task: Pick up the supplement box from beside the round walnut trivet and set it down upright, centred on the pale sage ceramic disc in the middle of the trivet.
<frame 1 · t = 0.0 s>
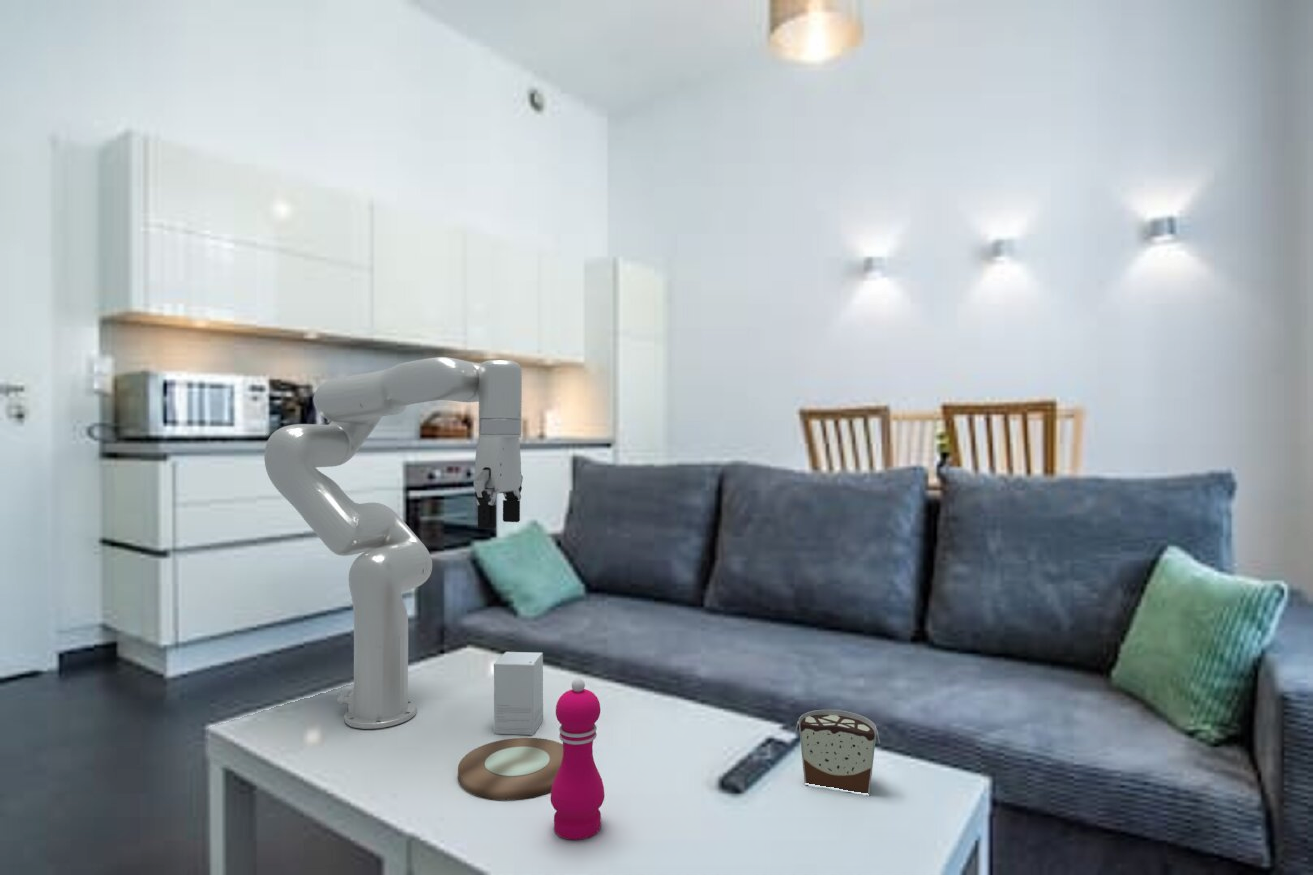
hand: (499, 524, 128), 37 cm above the table, tool pointing down, fingers open, 9 cm apart
food container: (838, 782, 109), on the table
trivet: (517, 771, 112), on the table
pepper mill: (577, 828, 96), on the table
supplement box: (519, 728, 129), on the table
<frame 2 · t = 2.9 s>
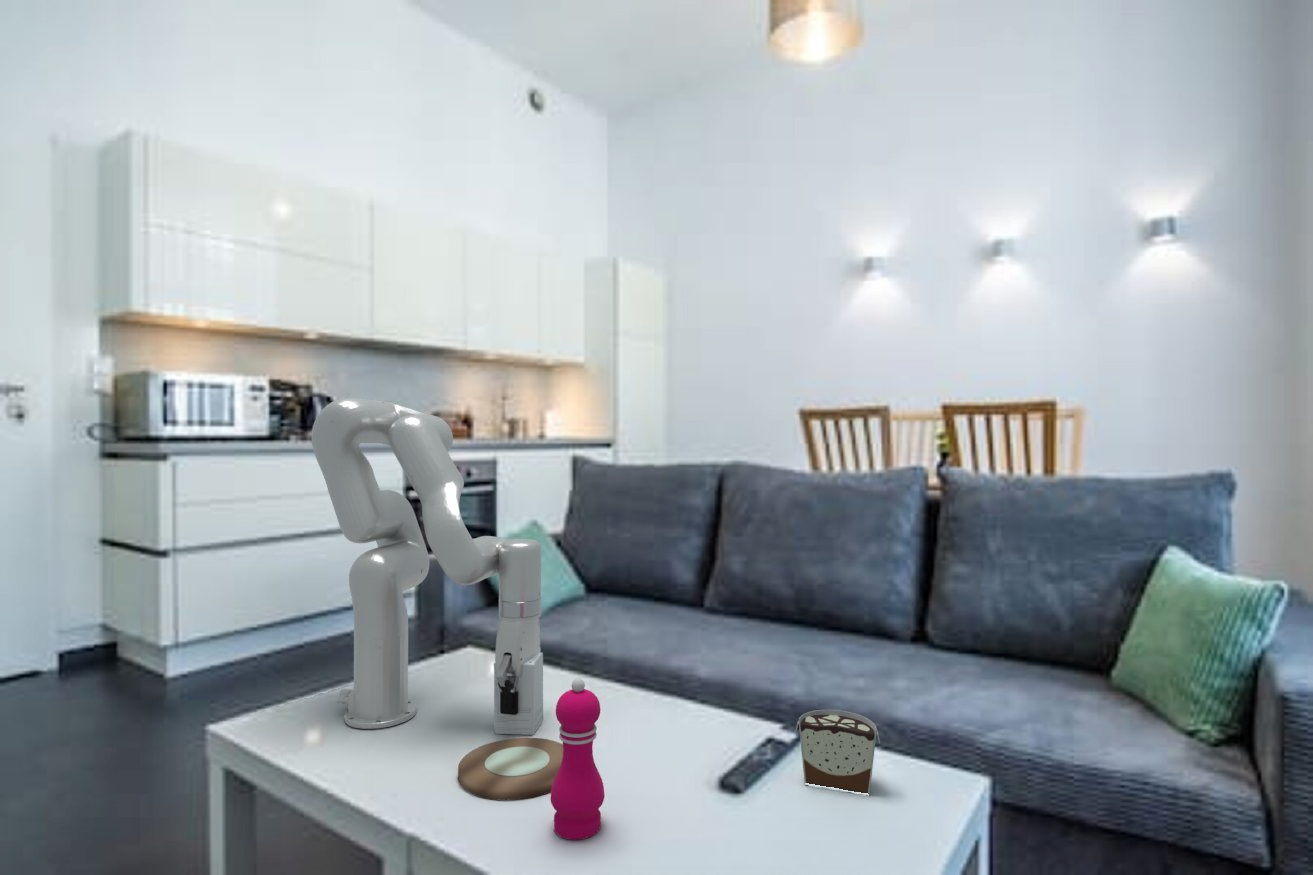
hand: (519, 704, 129), 4 cm above the table, tool pointing down, fingers closed on supplement box, 8 cm apart
supplement box: (519, 727, 129), on the table, touching gripper
everything else where it was.
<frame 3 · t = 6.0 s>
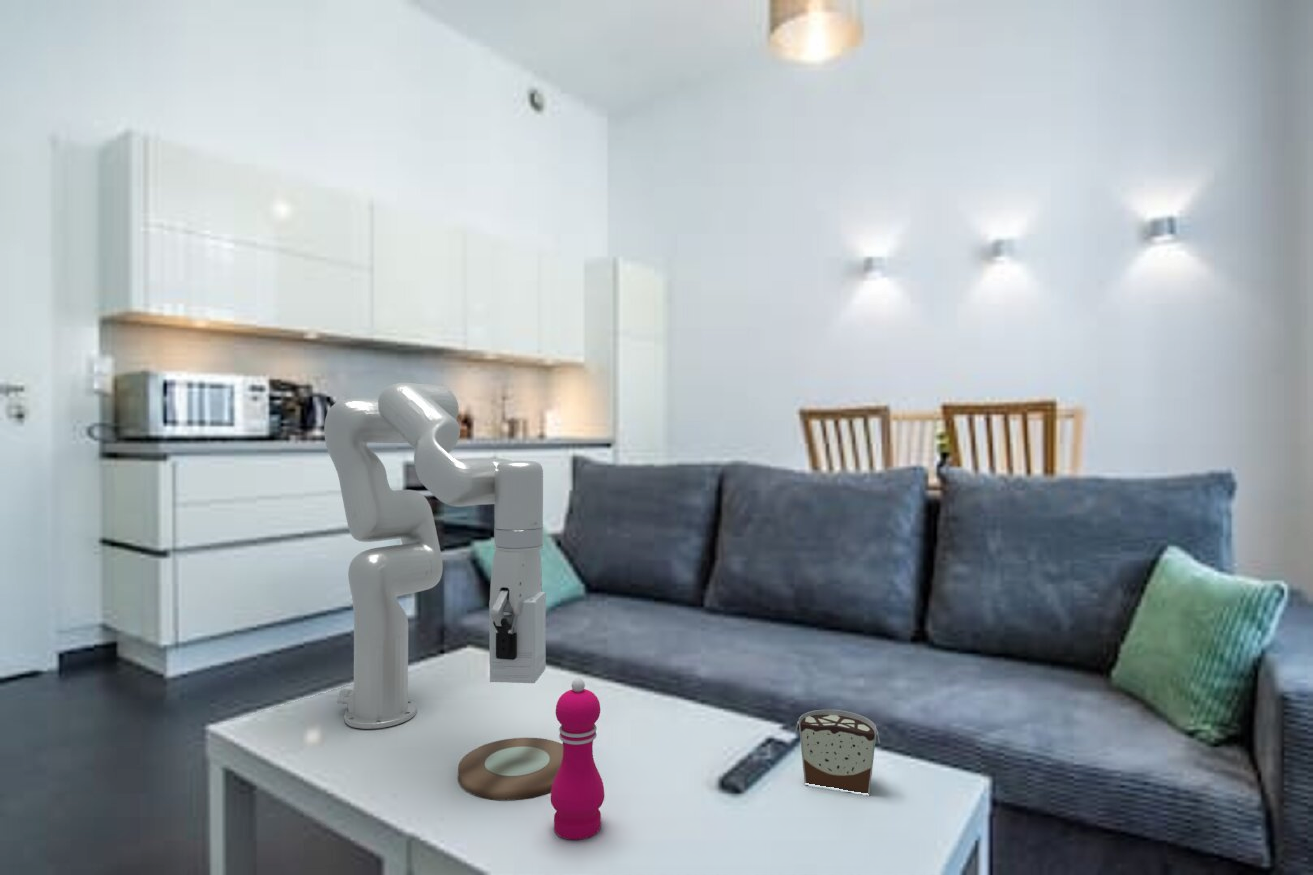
hand: (518, 649, 112), 19 cm above the table, tool pointing down, fingers closed on supplement box, 8 cm apart
supplement box: (518, 676, 112), point 15 cm above the table, touching gripper
everything else where it was.
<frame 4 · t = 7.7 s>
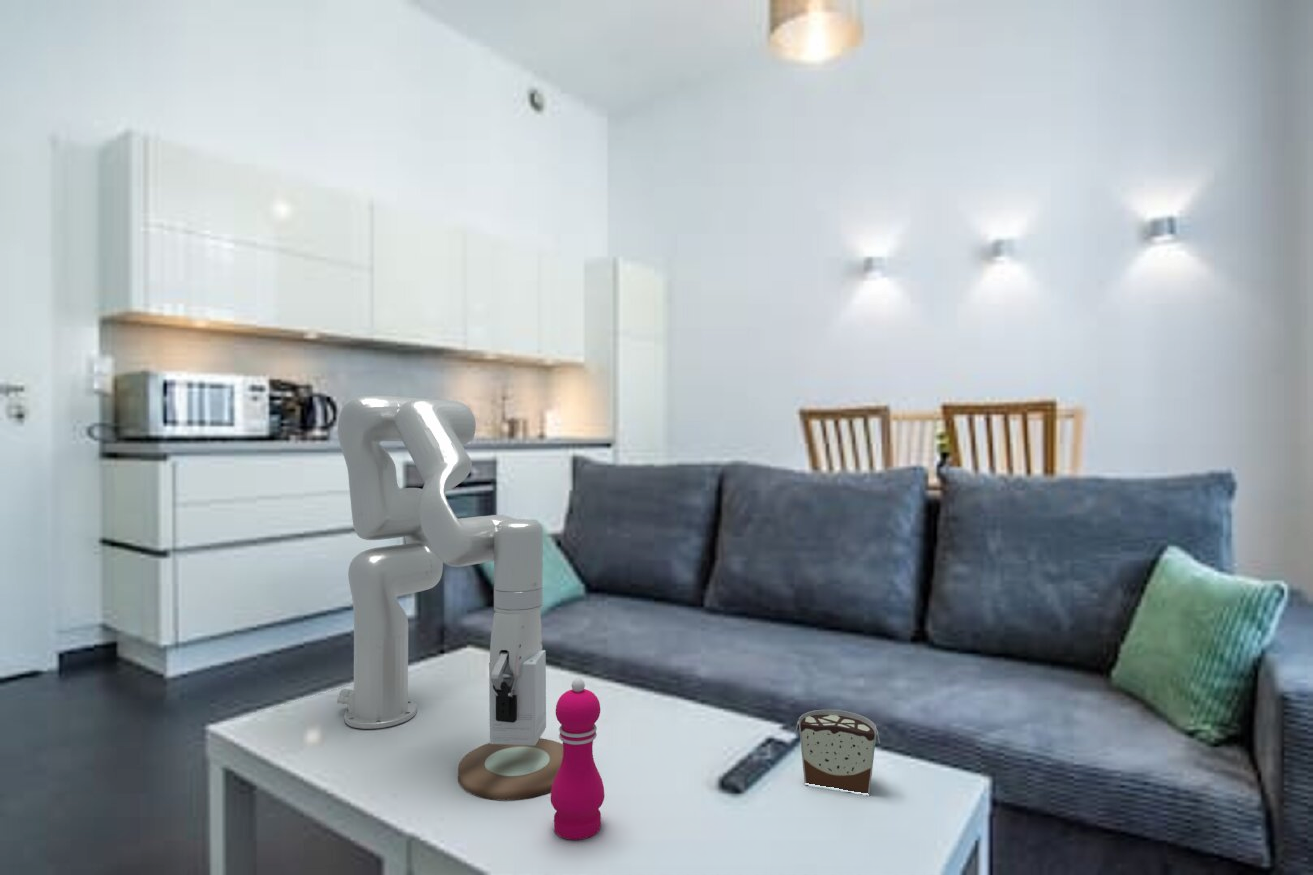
hand: (518, 710, 112), 10 cm above the table, tool pointing down, fingers closed on supplement box, 8 cm apart
supplement box: (518, 737, 112), point 5 cm above the table, touching gripper
everything else where it was.
when the fingers open (6 cm above the table, at t = 9.0 s): supplement box stays where it is, resting on trivet.
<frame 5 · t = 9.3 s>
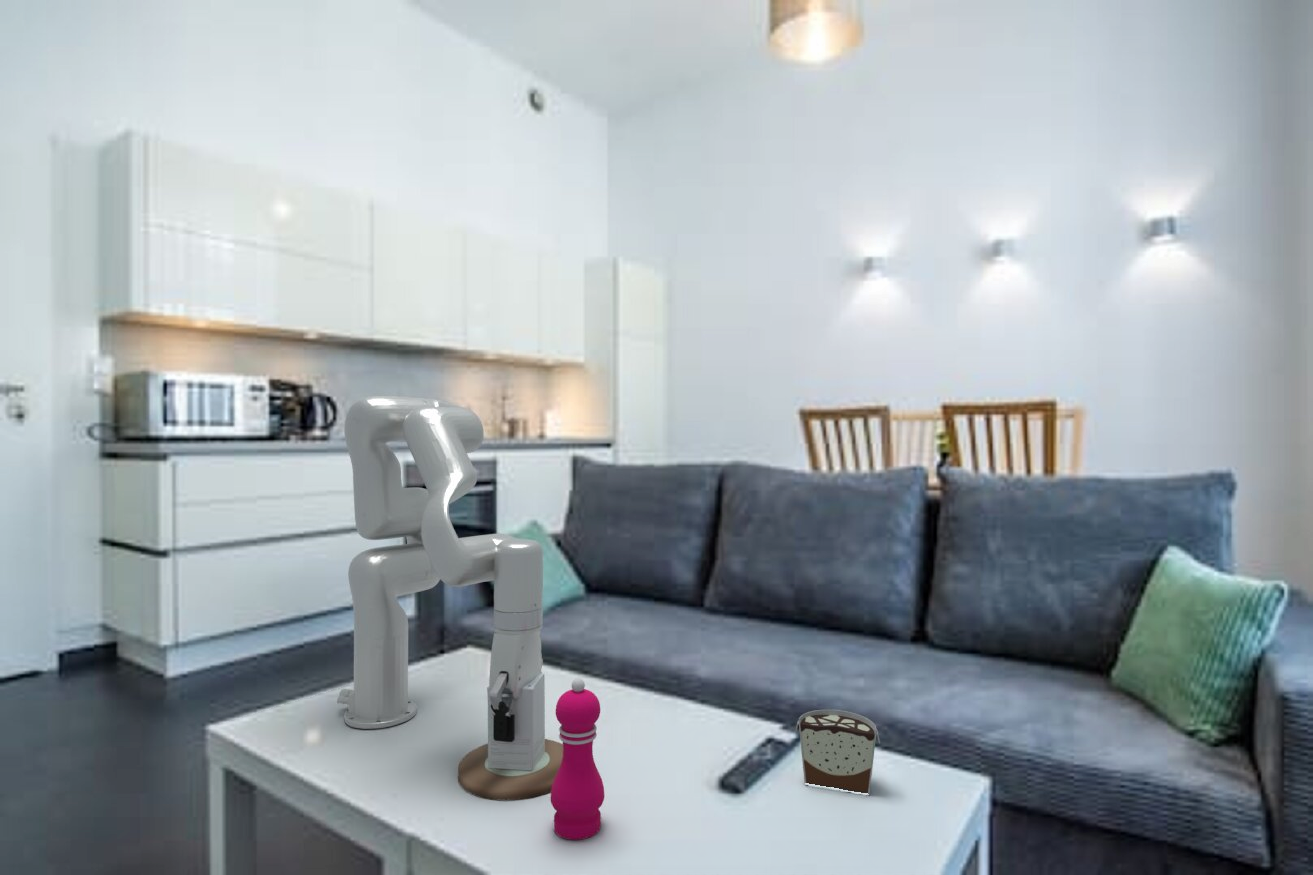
hand: (517, 727, 112), 7 cm above the table, tool pointing down, fingers open, 9 cm apart
supplement box: (516, 760, 112), point 1 cm above the table, touching trivet
everything else where it was.
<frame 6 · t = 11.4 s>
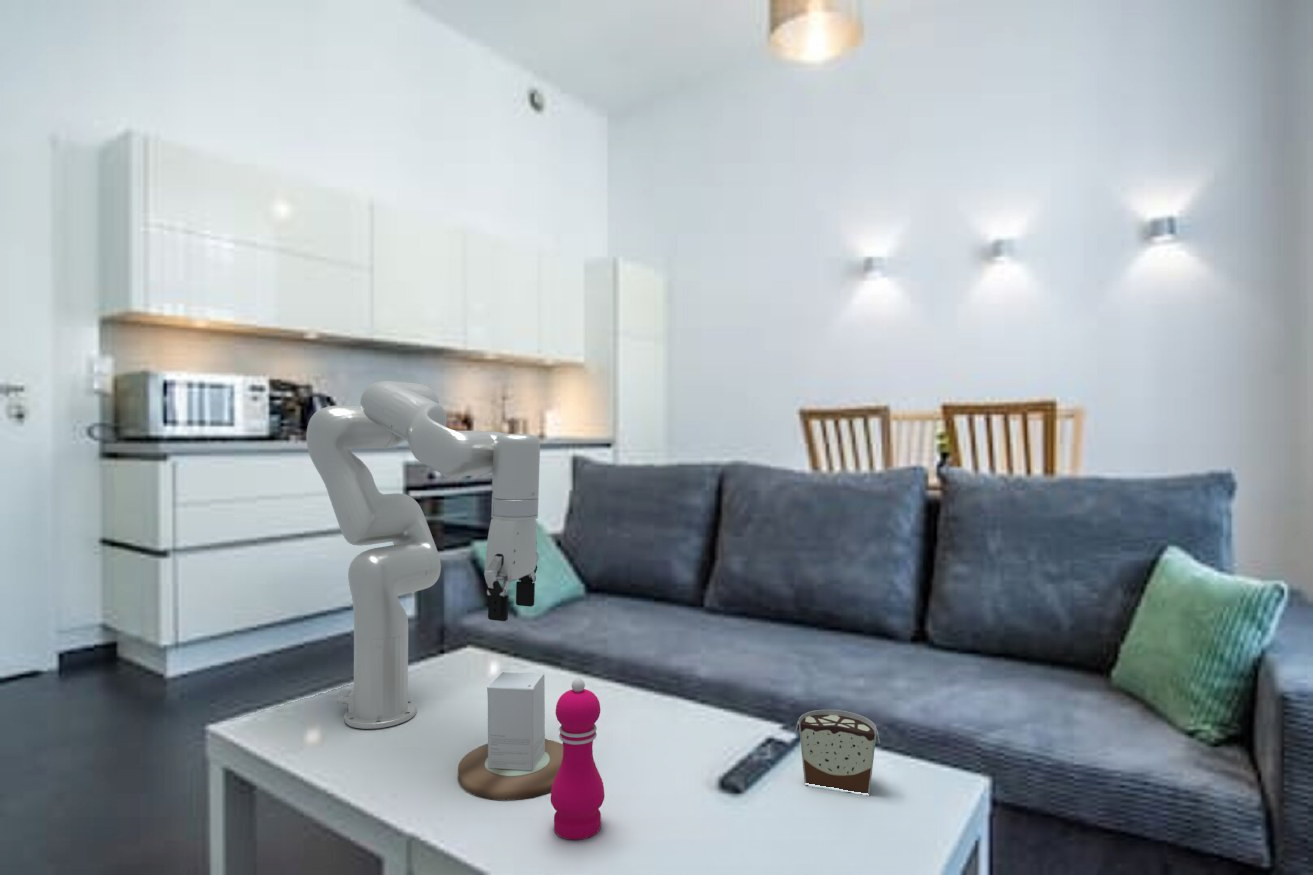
hand: (511, 612, 117), 24 cm above the table, tool pointing down, fingers open, 9 cm apart
nothing on the table moved.
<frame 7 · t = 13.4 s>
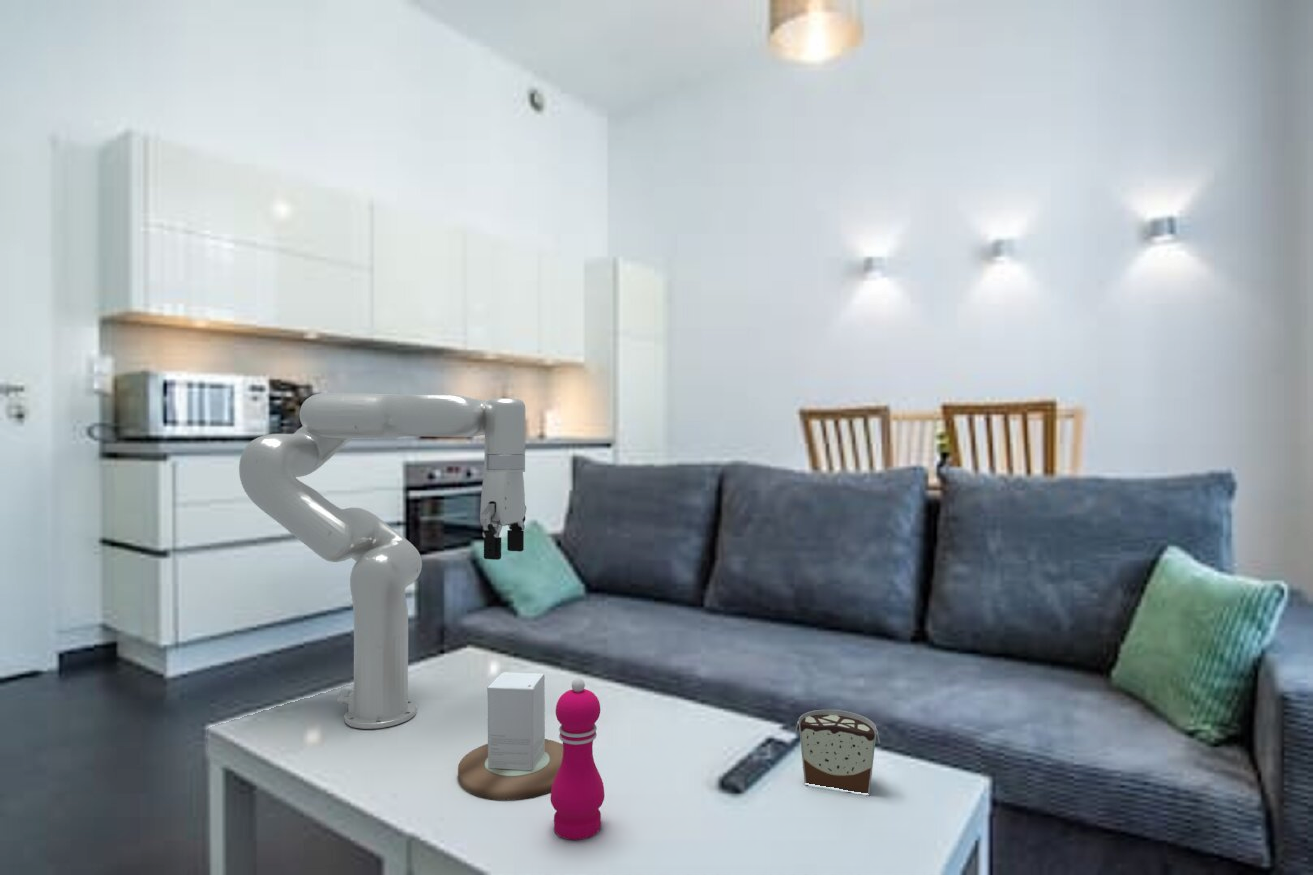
hand: (504, 554, 134), 30 cm above the table, tool pointing down, fingers open, 9 cm apart
nothing on the table moved.
at the end: supplement box 0.3 cm off-centre on the trivet, point 1.5 cm above the trivet's base; supplement box tilted 0°; the gripper is holding nothing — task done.
